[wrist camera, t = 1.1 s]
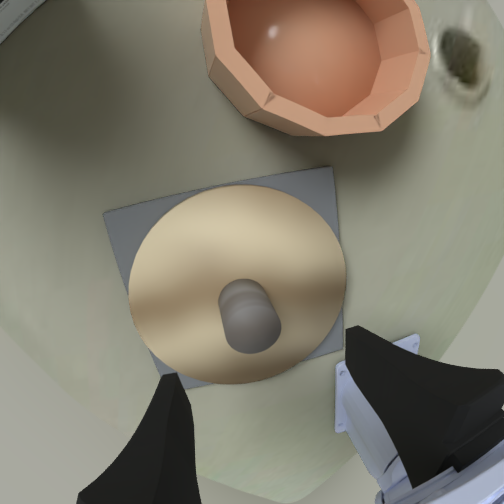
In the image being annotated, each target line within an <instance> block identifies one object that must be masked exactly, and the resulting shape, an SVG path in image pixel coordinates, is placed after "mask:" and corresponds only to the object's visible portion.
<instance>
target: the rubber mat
mask: <svg viewBox="0 0 504 504" xmlns="http://www.w3.org/2000/svg"><path fill="white" fill-rule="evenodd" d="M234 184H252V185H259V186H266V187H269V188H273V189H276V190H280V191H282V192H285V193H287V194H289V195H291V196H293V197H295V198H297V199H299V200H300V201H302V202H303V203H305V204H307V205H308V206H310V207H311V208H312V209H313V210H314V211H316V212H317V213H318V214H319V215H320V216H321V217H322V218H323V219H324V220H325V222H326V223H327V224H328V225H329V226H330V228H331V229H332V231H333V233H334V234H335V236H336V238H337V240H338V242H339V230H338V217H337V205H336V194H335V184H334V175H333V167H332V166H325V167H318V168H311V169H305V170H299V171H293V172H287V173H281V174H275V175H269V176H264V177H258V178H253V179H247V180H242V181H237V182H232V183H227V184H222V185H217V186H212V187H207V188H203V189H198V190H193V191H189V192H184V193H180V194H175V195H171V196H167V197H163V198H158V199H154V200H150V201H146V202H142V203H138V204H134V205H130V206H126V207H122V208H118V209H115V210H111V211H107V212H104V213H103V217H104V221H105V224H106V228H107V231H108V235H109V238H110V242H111V245H112V248H113V252H114V255H115V258H116V261H117V264H118V267H119V270H120V273H121V276H122V279H123V282H124V285H125V288H126V291H127V294H128V297H129V280H130V273H131V269H132V266H133V263H134V260H135V257H136V254H137V252H138V250H139V248H140V246H141V244H142V242H143V240H144V238H145V237H146V235H147V234H148V232H149V231H150V229H151V228H152V227H153V225H154V224H155V223H156V222H157V221H158V220H159V219H160V218H161V217H162V216H163V215H164V214H165V213H166V212H168V211H169V210H170V209H171V208H173V207H174V206H175V205H177V204H178V203H180V202H182V201H183V200H185V199H187V198H188V197H190V196H193V195H195V194H197V193H200V192H202V191H205V190H208V189H212V188H216V187H219V186H226V185H234ZM148 349H149V348H148ZM340 349H343V322H342V306H341V310H340V312H339V315H338V317H337V319H336V321H335V323H334V325H333V327H332V328H331V330H330V332H329V333H328V334H327V336H326V337H325V338H324V340H323V341H322V342H321V343H320V344H319V345H318V347H317V348H316V349H315V350H314V351H313V352H312V353H310V354H309V355H308V356H307V357H306V358H305V359H303V360H302V361H305V360H308V359H311V358H315V357H318V356H321V355H325V354H328V353H331V352H334V351H337V350H340ZM149 351H150V353H151V356H152V358H153V360H154V363H155V365H156V367H157V370H158V372H159V374H160V376H161V377H162V375H164V374H169V373H175V372H177V371H175V370H174V369H172V368H171V367H169V366H168V365H166V364H165V363H163V362H162V361H161V360H160V359H159V358H158V357H156V356H155V355H154V354H153V352H152V351H151V350H150V349H149ZM300 362H301V361H300ZM177 373H178V376H179V378H180V381H181V383H182V385H183V388H184V389H188V388H193V387H198V386H203V385H208V384H213V383H209V382H205V381H200V380H197V379H194V378H191V377H188V376H186V375H183V374H181V373H179V372H177Z"/></svg>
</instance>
